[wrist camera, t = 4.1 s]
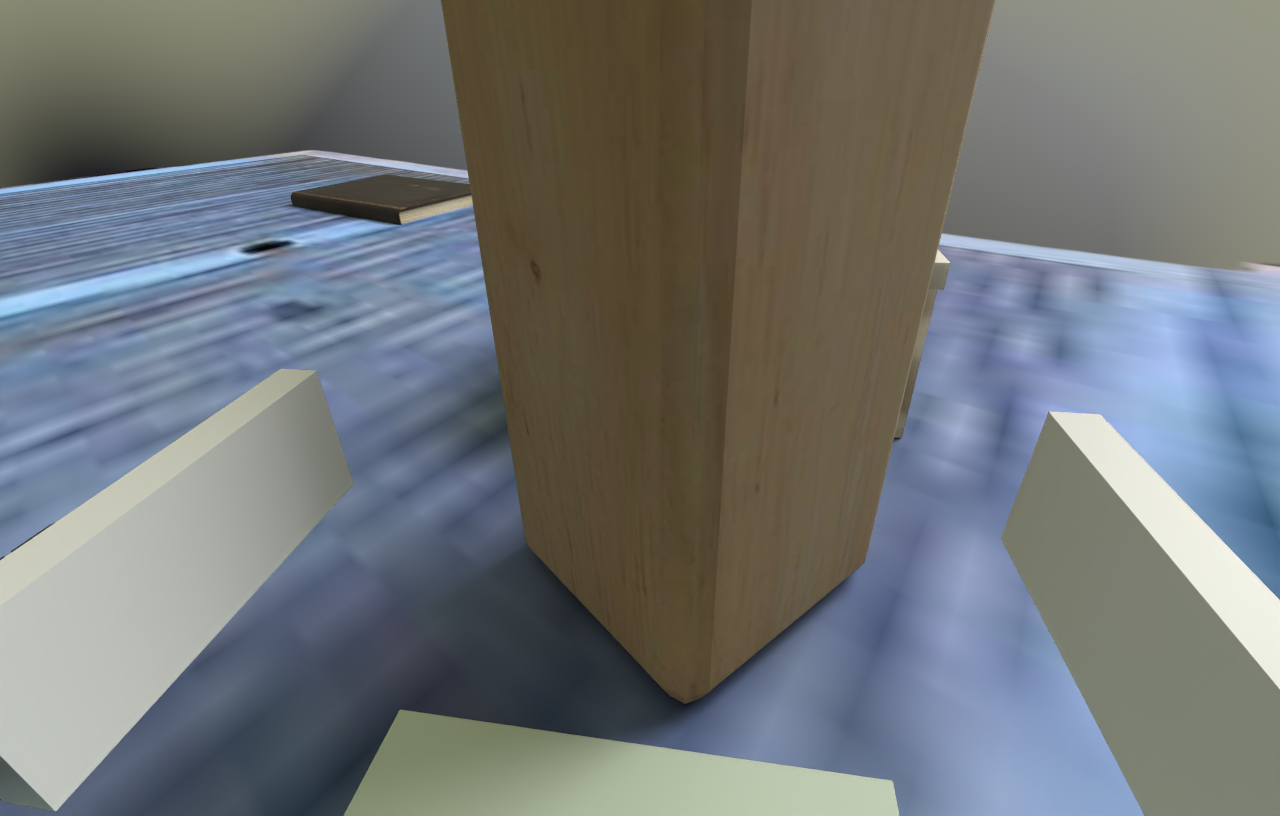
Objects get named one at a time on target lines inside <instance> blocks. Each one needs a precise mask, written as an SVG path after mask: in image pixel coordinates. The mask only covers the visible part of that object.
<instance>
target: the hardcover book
mask: <svg viewBox="0 0 1280 816" xmlns="http://www.w3.org/2000/svg"><path fill="white" fill-rule="evenodd" d="M291 201H292V204H293V206H297V207H303V208H308V209H314V210H320V211H325V212H331V213H337V214H343V215H348V216H354V217H360V218H365V219H371V220H377V221H383V222H388V223H394V224H400V225H401V224H403V223H407V222H410V221H414V220H418V219H422V218H426V217H429V216H433V215H437V214H441V213H445V212H448V211H452V210H456V209H460V208H464V207H467V206H471V205H473V202H472V195H471V189H470V184H462V183H453V182H445V181H436V180H427V179H418V178H410V177H401V176H392V175H383V176H377V177H372V178H367V179H361V180H356V181H350V182H345V183H340V184H334V185H329V186H323V187H318V188H313V189H307V190H302V191H297V192H293V193H292V194H291Z"/></svg>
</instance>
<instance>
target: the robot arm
mask: <svg viewBox="0 0 1280 816" xmlns="http://www.w3.org/2000/svg"><path fill="white" fill-rule="evenodd" d="M353 484H354V483H353V480H352V477H351V474H350V471H349V468H348V465H347V462H346V459H345V456H344V453H343V450H342V447H341V443H340V440H339V437H338V434H337V431H336V428H335V425H334V422H333V419H332V416H331V413H330V410H329V407H328V404H327V401H326V398H325V395H324V392H323V389H322V386H321V383H320V380H319V377H318V374H317V371H309V370H291V369H280V370H279V371H277V372H276V373H274V374H273V375H271V376H270V377H268V378H267V379H265V380H264V381H263V382H261V383H260V384H258V385H257V386H255V387H254V388H252V389H251V390H249V391H248V392H246V393H245V394H243V395H242V396H241V397H239V398H238V399H236V400H235V401H233V402H232V403H230V404H229V405H227V406H226V407H224V408H223V409H221V410H220V411H219V412H217V413H216V414H214V415H213V416H211V417H210V418H208V419H207V420H205V421H204V422H202V423H201V424H199V425H198V426H197V427H195V428H194V429H192V430H191V431H189V432H188V433H186V434H185V435H183V436H182V437H180V438H179V439H177V440H176V441H175V442H173V443H172V444H170V445H169V446H167V447H166V448H164V449H163V450H161V451H160V452H158V453H157V454H155V455H154V456H153V457H151V458H150V459H148V460H147V461H145V462H144V463H142V464H141V465H139V466H138V467H136V468H135V469H133V470H132V471H131V472H129V473H128V474H126V475H125V476H123V477H122V478H120V479H119V480H117V481H116V482H114V483H113V484H111V485H110V486H109V487H107V488H106V489H104V490H103V491H101V492H100V493H98V494H97V495H95V496H94V497H92V498H91V499H89V500H88V501H87V502H85V503H84V504H82V505H81V506H79V507H78V508H76V509H75V510H73V511H72V512H70V513H69V514H67V515H66V516H65V517H63V518H62V519H60V520H59V521H57V522H55V523H53V524H51V525H49V526H48V527H46V528H45V529H43V530H42V531H40V532H39V533H37V534H36V535H34V536H33V537H31V538H30V539H28V540H27V541H25V542H24V543H23V544H21V545H20V546H18V547H17V548H15V549H14V550H12V551H11V553H10V554H9V555H7V556H6V557H4V556H3V557H2V558H0V799H1V800H2V801H3V802H6V803H11V804H17V805H22V806H28V807H33V808H39V809H44V810H50V811H55V812H56V811H57V810H58V809H59V808H60V806H61V805H62V804H63V803H64V802H65V801H66V800H67V799H68V798H69V797H70V795H71V794H72V793H73V792H74V791H75V790H76V789H77V788H78V787H79V786H80V784H81V783H82V782H83V781H84V780H85V779H86V778H87V777H88V776H89V775H90V773H91V772H92V771H93V770H94V769H95V768H96V767H97V766H98V765H99V764H100V762H101V761H102V760H103V759H104V758H105V757H106V756H107V755H108V754H109V753H110V751H111V750H112V749H113V748H114V747H115V746H116V745H117V744H118V743H119V742H120V740H121V739H122V738H123V737H124V736H125V735H126V734H127V733H128V732H129V731H130V729H131V728H132V727H133V726H134V725H135V724H136V723H137V722H138V721H139V720H140V718H141V717H142V716H143V715H144V714H145V713H146V712H147V711H148V710H149V709H150V707H151V706H152V705H153V704H154V703H155V702H156V701H157V700H158V699H159V698H160V696H161V695H162V694H163V693H164V692H165V691H166V690H167V689H168V688H169V687H170V685H171V684H172V683H173V682H174V681H175V680H176V679H177V678H178V677H179V676H180V675H181V673H182V672H183V671H184V670H185V669H186V668H187V667H188V666H189V665H190V664H191V662H192V661H193V660H194V659H195V658H196V657H197V656H198V655H199V654H200V653H201V651H202V650H203V649H204V648H205V647H206V646H207V645H208V644H209V643H210V642H211V640H212V639H213V638H214V637H215V636H216V635H217V634H218V633H219V632H220V631H221V629H222V628H223V627H224V626H225V625H226V624H227V623H228V622H229V621H230V620H231V618H232V617H233V616H234V615H235V614H236V613H237V612H238V611H239V610H240V609H241V607H242V606H243V605H244V604H245V603H246V602H247V601H248V600H249V599H250V598H251V596H252V595H253V594H254V593H255V592H256V591H257V590H258V589H259V588H260V587H261V585H262V584H263V583H264V582H265V581H266V580H267V579H268V578H269V577H270V576H271V574H272V573H273V572H274V571H275V570H276V569H277V568H278V567H279V566H280V565H281V563H282V562H283V561H284V560H285V559H286V558H287V557H288V556H289V555H290V554H291V552H292V551H293V550H294V549H295V548H296V547H297V546H298V545H299V544H300V543H301V541H302V540H303V539H304V538H305V537H306V536H307V535H308V534H309V533H310V532H311V530H312V529H313V528H314V527H315V526H316V525H317V524H318V523H319V522H320V521H321V519H322V518H323V517H324V516H325V515H326V514H327V513H328V512H329V511H330V510H331V508H332V507H333V506H334V505H335V504H336V503H337V502H338V501H339V500H340V499H341V497H342V496H343V495H344V494H345V493H346V492H347V491H348V490H349V489H350V488H351V486H352V485H353ZM1001 539H1002V541H1003V543H1004V545H1005V547H1006V549H1007V551H1008V553H1009V555H1010V557H1011V559H1012V561H1013V563H1014V565H1015V566H1016V568H1017V570H1018V572H1019V574H1020V576H1021V578H1022V580H1023V582H1024V584H1025V586H1026V588H1027V590H1028V592H1029V594H1030V595H1031V597H1032V599H1033V601H1034V603H1035V605H1036V607H1037V609H1038V611H1039V613H1040V615H1041V617H1042V619H1043V621H1044V622H1045V624H1046V626H1047V628H1048V630H1049V632H1050V634H1051V636H1052V638H1053V640H1054V642H1055V644H1056V646H1057V648H1058V649H1059V651H1060V653H1061V655H1062V657H1063V659H1064V661H1065V663H1066V665H1067V667H1068V669H1069V671H1070V673H1071V675H1072V677H1073V678H1074V680H1075V682H1076V684H1077V686H1078V688H1079V690H1080V692H1081V694H1082V696H1083V698H1084V700H1085V702H1086V704H1087V705H1088V707H1089V709H1090V711H1091V713H1092V715H1093V717H1094V719H1095V721H1096V723H1097V725H1098V727H1099V729H1100V731H1101V732H1102V734H1103V736H1104V738H1105V740H1106V742H1107V744H1108V746H1109V748H1110V750H1111V752H1112V754H1113V756H1114V758H1115V760H1116V761H1117V763H1118V765H1119V767H1120V769H1121V771H1122V773H1123V775H1124V777H1125V779H1126V781H1127V783H1128V785H1129V787H1130V788H1131V790H1132V792H1133V794H1134V796H1135V798H1136V800H1137V802H1138V804H1139V806H1140V808H1141V810H1142V812H1143V814H1144V815H1145V816H1280V600H1279V599H1278V598H1277V597H1276V596H1275V595H1274V594H1273V593H1272V592H1271V591H1270V590H1269V589H1268V588H1267V587H1266V585H1265V584H1264V583H1263V582H1262V581H1261V580H1260V579H1259V578H1258V577H1257V576H1256V575H1255V574H1254V573H1253V572H1252V571H1251V570H1250V569H1249V568H1248V567H1247V566H1246V565H1245V564H1244V563H1243V562H1242V561H1241V560H1240V559H1239V558H1238V557H1237V555H1236V554H1235V553H1234V552H1233V551H1232V550H1231V549H1230V548H1229V547H1228V546H1227V545H1226V544H1225V543H1224V542H1223V541H1222V540H1221V539H1220V538H1219V537H1218V536H1217V535H1216V534H1215V533H1214V532H1213V531H1212V530H1211V529H1210V528H1209V527H1208V525H1207V524H1206V523H1205V522H1204V521H1203V520H1202V519H1201V518H1200V517H1199V516H1198V515H1197V514H1196V513H1195V512H1194V511H1193V510H1192V509H1191V508H1190V507H1189V506H1188V505H1187V504H1186V503H1185V502H1184V501H1183V500H1182V499H1181V498H1180V497H1179V496H1178V494H1177V493H1176V492H1175V491H1174V490H1173V489H1172V488H1171V487H1170V486H1169V485H1168V484H1167V483H1166V482H1165V481H1164V480H1163V479H1162V478H1161V477H1160V476H1159V475H1158V474H1157V473H1156V472H1155V471H1154V470H1153V469H1152V468H1151V467H1150V466H1149V464H1148V463H1147V462H1146V461H1145V460H1144V459H1143V458H1142V457H1141V456H1140V455H1139V454H1138V453H1137V452H1136V451H1135V450H1134V449H1133V448H1132V447H1131V446H1130V445H1129V444H1128V443H1127V442H1126V441H1125V440H1124V439H1123V438H1122V437H1121V436H1120V434H1119V433H1118V432H1117V431H1116V430H1115V429H1114V428H1113V427H1112V426H1111V425H1110V424H1109V423H1108V422H1107V421H1106V420H1105V419H1104V418H1103V417H1102V416H1101V415H1100V414H1083V413H1065V412H1048V415H1047V418H1046V420H1045V423H1044V425H1043V428H1042V431H1041V433H1040V436H1039V439H1038V441H1037V444H1036V447H1035V449H1034V452H1033V455H1032V457H1031V460H1030V463H1029V465H1028V468H1027V470H1026V473H1025V476H1024V478H1023V481H1022V484H1021V486H1020V489H1019V492H1018V494H1017V497H1016V500H1015V502H1014V505H1013V508H1012V510H1011V513H1010V516H1009V518H1008V521H1007V523H1006V526H1005V529H1004V531H1003V534H1002V537H1001Z"/></svg>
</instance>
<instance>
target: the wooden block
mask: <svg viewBox="0 0 1280 816" xmlns="http://www.w3.org/2000/svg"><path fill="white" fill-rule="evenodd" d="M995 1H996V0H441V3H442V10H443V16H444V22H445V29H446V35H447V41H448V48H449V54H450V60H451V67H452V74H453V80H454V86H455V92H456V99H457V106H458V111H459V118H460V125H461V131H462V137H463V144H464V150H465V157H466V163H467V169H468V176H469V182H470V189H471V195H472V202H473V208H474V214H475V221H476V227H477V234H478V240H479V246H480V253H481V259H482V266H483V272H484V278H485V285H486V291H487V298H488V304H489V310H490V317H491V323H492V330H493V336H494V342H495V349H496V355H497V362H498V368H499V374H500V381H501V387H502V393H503V400H504V406H505V413H506V419H507V425H508V432H509V438H510V445H511V451H512V457H513V464H514V470H515V477H516V483H517V489H518V496H519V502H520V509H521V515H522V521H523V528H524V534H525V539H526V544H527V545H528V546H529V547H530V548H531V550H532V551H533V552H534V553H535V554H536V555H537V556H538V557H539V558H540V560H541V561H542V562H543V563H544V564H545V565H546V566H547V567H548V568H549V569H550V570H551V571H552V572H553V573H554V574H555V575H556V576H557V577H558V579H559V580H560V581H561V582H562V583H563V584H564V585H565V586H566V587H567V588H568V589H569V590H570V591H571V592H572V593H573V594H574V595H575V597H576V598H577V599H578V600H579V601H580V602H581V603H582V604H583V605H584V606H585V607H586V608H587V609H588V610H589V611H590V612H591V613H592V615H593V616H594V617H595V618H596V619H597V620H598V621H599V622H600V623H601V624H602V625H603V626H604V627H605V628H606V629H607V630H608V631H609V633H610V634H611V635H612V636H613V637H614V638H615V639H616V640H617V641H618V642H619V643H620V644H621V645H622V646H623V647H624V648H625V649H626V651H627V652H628V653H629V654H630V655H631V656H632V657H633V658H634V659H635V660H636V661H637V662H638V663H639V664H640V665H641V666H642V667H643V669H644V670H645V671H646V672H647V673H648V674H649V675H650V676H651V677H652V678H653V679H654V680H655V681H656V682H657V683H658V684H659V685H660V686H661V688H662V689H663V690H664V691H665V692H666V693H667V694H668V695H669V696H671V697H673V698H675V699H677V700H679V701H681V702H682V703H684V704H686V703H689V702H692V701H695V700H698V699H701V698H703V697H704V696H705V695H706V694H707V693H709V692H710V691H711V690H712V689H713V688H715V687H716V686H717V685H718V684H720V683H721V682H722V681H723V680H724V679H726V678H727V677H728V676H729V675H730V674H732V673H733V672H734V671H735V670H736V669H738V668H739V667H740V666H741V665H742V664H744V663H745V662H746V661H747V660H749V659H750V658H751V657H752V656H753V655H755V654H756V653H757V652H758V651H759V650H761V649H762V648H763V647H764V646H765V645H767V644H768V643H769V642H770V641H772V640H773V639H774V638H775V637H776V636H778V635H779V634H780V633H781V632H782V631H784V630H785V629H786V628H787V627H788V626H790V625H791V624H792V623H793V622H794V621H796V620H797V619H798V618H799V617H801V616H802V615H803V614H804V613H805V612H807V611H808V610H809V609H810V608H811V607H813V606H814V605H815V604H816V603H817V602H819V601H820V600H821V599H822V598H823V597H825V596H826V595H827V594H828V593H830V592H831V591H832V590H833V589H834V588H836V587H837V586H838V585H839V584H840V583H842V582H843V581H844V580H845V579H846V578H848V577H849V576H850V575H851V574H853V573H854V572H855V571H856V570H857V569H858V568H859V567H860V566H861V565H862V564H863V563H864V561H865V558H866V555H867V551H868V547H869V543H870V539H871V535H872V530H873V526H874V522H875V517H876V513H877V509H878V504H879V500H880V496H881V492H882V487H883V483H884V479H885V474H886V470H887V466H888V461H889V457H890V453H891V449H892V444H893V440H894V436H895V431H896V427H897V423H898V418H899V414H900V410H901V405H902V401H903V397H904V393H905V388H906V384H907V380H908V375H909V371H910V367H911V362H912V358H913V354H914V350H915V345H916V341H917V337H918V332H919V328H920V324H921V319H922V315H923V311H924V307H925V302H926V298H927V294H928V289H929V285H930V281H931V276H932V272H933V268H934V264H935V259H936V255H937V251H938V246H939V242H940V238H941V233H942V229H943V225H944V220H945V216H946V212H947V207H948V203H949V199H950V195H951V190H952V186H953V182H954V177H955V173H956V169H957V165H958V160H959V156H960V152H961V147H962V143H963V139H964V134H965V130H966V126H967V121H968V117H969V113H970V109H971V104H972V100H973V96H974V91H975V87H976V83H977V79H978V74H979V70H980V66H981V61H982V57H983V52H984V48H985V44H986V40H987V36H988V31H989V27H990V23H991V18H992V14H993V9H994V5H995Z"/></svg>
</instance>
